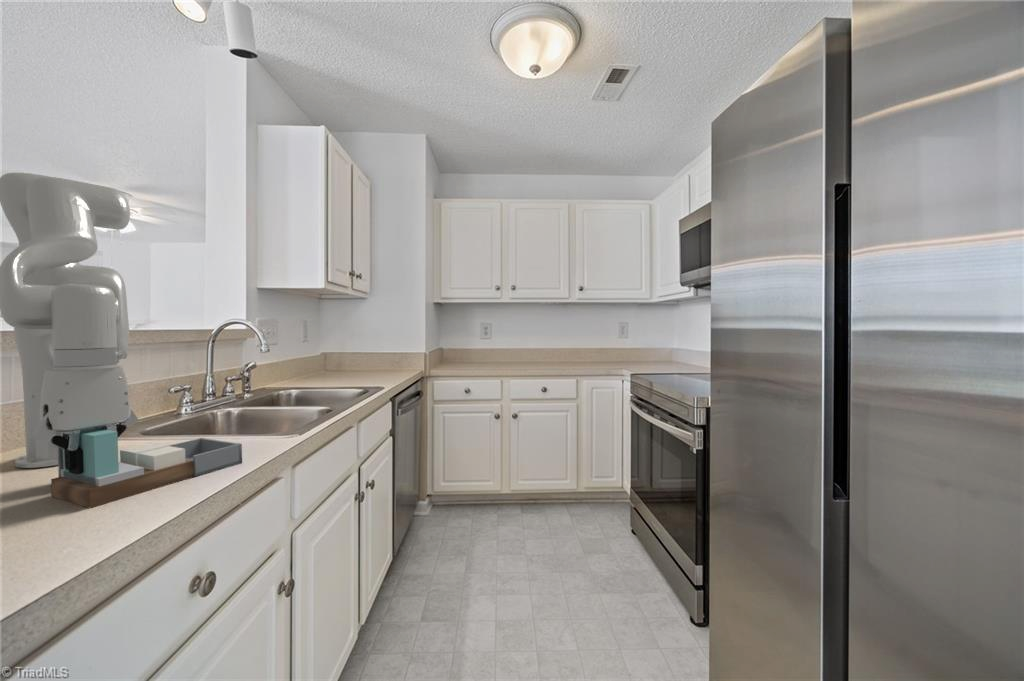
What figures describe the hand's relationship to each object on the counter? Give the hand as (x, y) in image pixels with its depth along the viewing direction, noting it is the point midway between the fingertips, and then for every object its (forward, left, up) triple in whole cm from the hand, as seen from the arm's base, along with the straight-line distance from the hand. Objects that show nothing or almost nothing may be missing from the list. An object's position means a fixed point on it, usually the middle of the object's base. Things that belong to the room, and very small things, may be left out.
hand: (90, 468), depth 71 cm
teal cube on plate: (0, +1, -2) cm, 2 cm away
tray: (0, +17, -5) cm, 17 cm away
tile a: (-3, +9, -2) cm, 9 cm away
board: (0, +5, -5) cm, 7 cm away
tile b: (+3, +9, -2) cm, 9 cm away
